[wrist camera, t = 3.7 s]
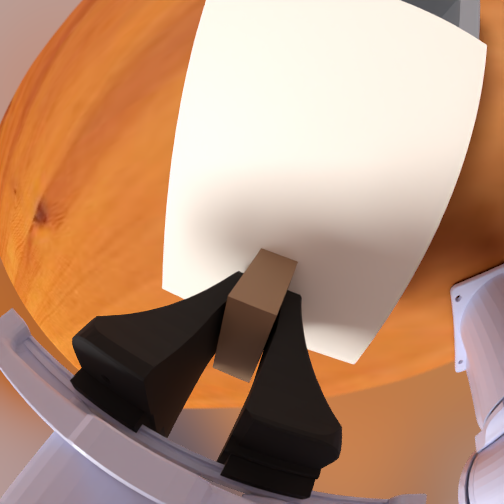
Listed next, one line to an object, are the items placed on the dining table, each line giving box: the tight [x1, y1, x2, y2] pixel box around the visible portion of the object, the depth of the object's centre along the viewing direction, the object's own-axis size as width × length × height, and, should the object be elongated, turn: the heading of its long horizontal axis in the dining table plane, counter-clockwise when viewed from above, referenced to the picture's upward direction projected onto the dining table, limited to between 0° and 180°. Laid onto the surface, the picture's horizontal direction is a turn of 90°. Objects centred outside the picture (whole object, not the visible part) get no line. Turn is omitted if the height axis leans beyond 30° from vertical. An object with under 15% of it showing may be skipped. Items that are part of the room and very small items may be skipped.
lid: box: [162, 0, 487, 383], centre depth 8 cm, size 16×11×4 cm
